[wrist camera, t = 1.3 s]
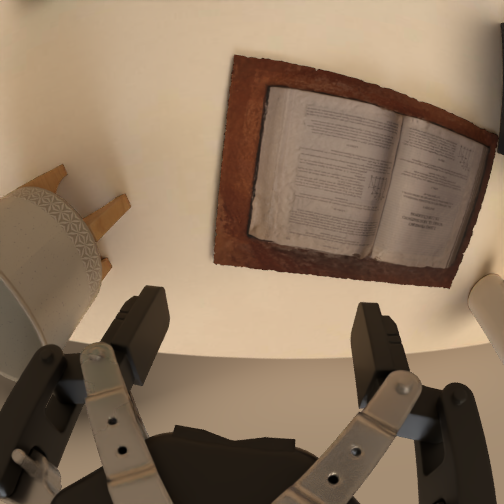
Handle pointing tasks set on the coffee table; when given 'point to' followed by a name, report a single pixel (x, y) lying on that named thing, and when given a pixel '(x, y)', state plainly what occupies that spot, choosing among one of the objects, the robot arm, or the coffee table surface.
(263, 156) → the book
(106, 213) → the planter
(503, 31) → the open storage box
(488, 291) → the mug
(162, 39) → the coffee table surface
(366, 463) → the robot arm
